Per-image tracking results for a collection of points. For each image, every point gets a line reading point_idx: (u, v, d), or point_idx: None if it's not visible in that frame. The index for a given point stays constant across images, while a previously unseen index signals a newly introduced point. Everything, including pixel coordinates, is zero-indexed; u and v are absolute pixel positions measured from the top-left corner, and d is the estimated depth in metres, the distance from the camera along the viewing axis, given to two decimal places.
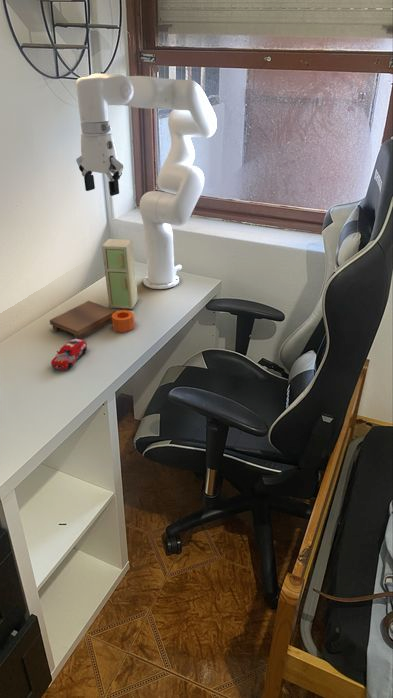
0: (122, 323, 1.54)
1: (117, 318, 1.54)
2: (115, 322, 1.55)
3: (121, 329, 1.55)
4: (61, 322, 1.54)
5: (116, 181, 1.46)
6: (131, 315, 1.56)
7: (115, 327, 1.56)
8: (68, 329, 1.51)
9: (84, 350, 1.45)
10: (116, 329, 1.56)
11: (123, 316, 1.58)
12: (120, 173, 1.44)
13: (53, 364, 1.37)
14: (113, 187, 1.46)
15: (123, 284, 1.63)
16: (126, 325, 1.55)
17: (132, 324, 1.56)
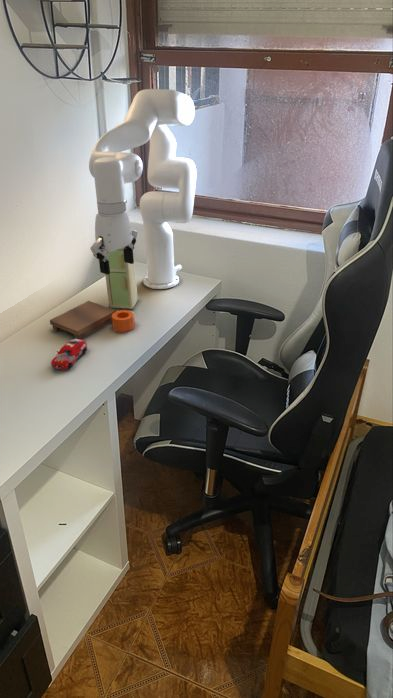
0: (122, 323, 1.54)
1: (117, 318, 1.54)
2: (115, 322, 1.55)
3: (121, 329, 1.55)
4: (61, 322, 1.54)
5: None
6: (131, 315, 1.56)
7: (115, 327, 1.56)
8: (68, 329, 1.51)
9: (84, 350, 1.45)
10: (116, 329, 1.56)
11: (123, 316, 1.58)
12: None
13: (53, 364, 1.37)
14: None
15: (123, 284, 1.63)
16: (126, 325, 1.55)
17: (132, 324, 1.56)
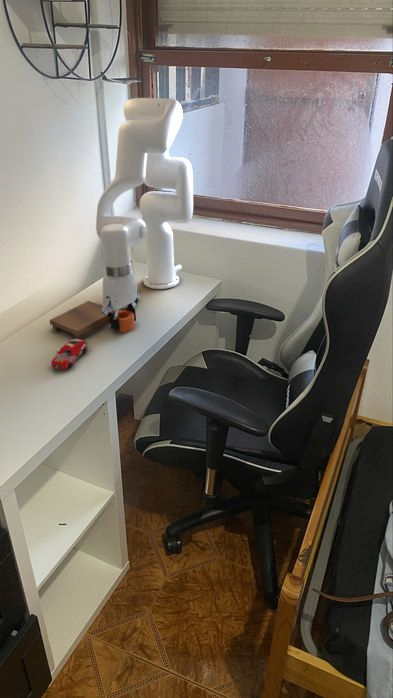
0: (122, 323, 1.54)
1: None
2: None
3: (121, 329, 1.55)
4: (61, 322, 1.54)
5: None
6: (131, 315, 1.56)
7: None
8: (68, 329, 1.51)
9: (84, 350, 1.45)
10: None
11: (123, 316, 1.58)
12: None
13: (53, 364, 1.37)
14: None
15: None
16: (126, 325, 1.55)
17: (132, 325, 1.56)
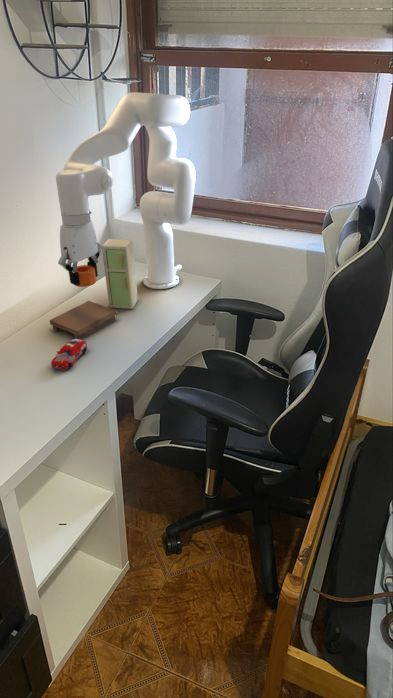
0: (82, 277, 1.47)
1: None
2: None
3: (81, 284, 1.48)
4: (61, 322, 1.54)
5: None
6: (92, 269, 1.49)
7: None
8: (68, 329, 1.51)
9: (84, 350, 1.45)
10: None
11: (84, 271, 1.51)
12: None
13: (53, 364, 1.37)
14: None
15: (123, 284, 1.63)
16: (86, 279, 1.48)
17: (93, 279, 1.49)
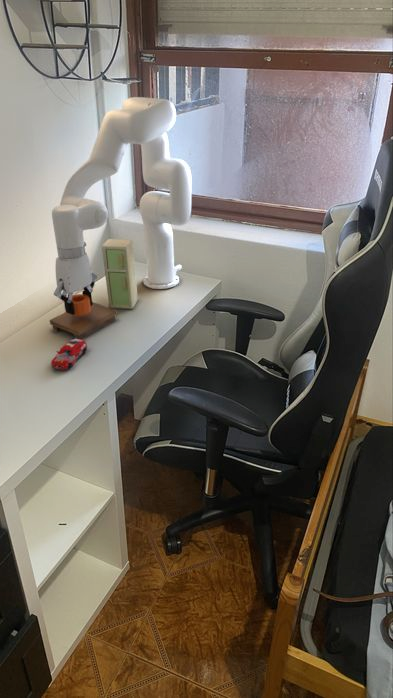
0: (77, 307, 1.52)
1: None
2: None
3: (76, 313, 1.53)
4: (61, 322, 1.54)
5: None
6: (86, 299, 1.54)
7: None
8: (68, 329, 1.51)
9: (84, 350, 1.45)
10: None
11: (79, 300, 1.56)
12: None
13: (53, 364, 1.37)
14: None
15: (123, 284, 1.63)
16: (81, 309, 1.52)
17: (88, 309, 1.54)
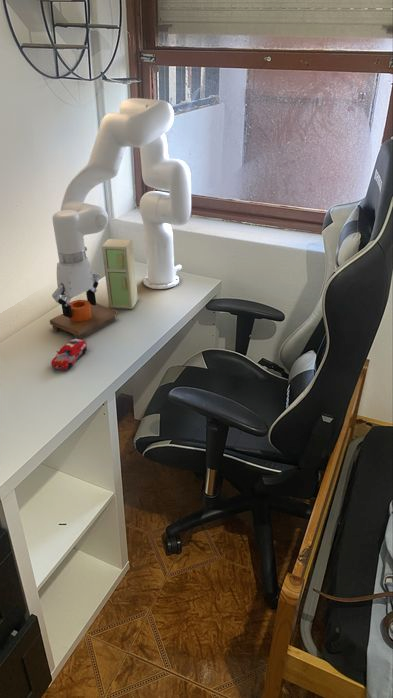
0: (78, 312, 1.53)
1: (73, 307, 1.53)
2: None
3: (77, 318, 1.54)
4: (61, 322, 1.54)
5: None
6: (87, 304, 1.54)
7: None
8: (68, 329, 1.51)
9: (84, 350, 1.45)
10: (72, 319, 1.54)
11: (80, 306, 1.57)
12: None
13: (53, 364, 1.37)
14: (94, 297, 1.58)
15: (123, 284, 1.63)
16: (82, 314, 1.53)
17: (88, 314, 1.55)
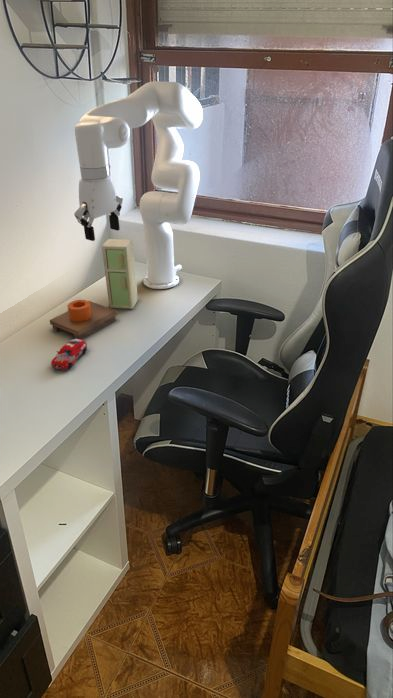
0: (78, 312, 1.53)
1: (73, 307, 1.53)
2: (71, 311, 1.53)
3: (77, 318, 1.54)
4: (61, 322, 1.54)
5: None
6: (87, 304, 1.54)
7: (71, 317, 1.54)
8: (68, 329, 1.51)
9: (84, 350, 1.45)
10: (72, 319, 1.54)
11: (80, 306, 1.57)
12: None
13: (53, 364, 1.37)
14: None
15: (123, 284, 1.63)
16: (82, 314, 1.53)
17: (88, 314, 1.55)
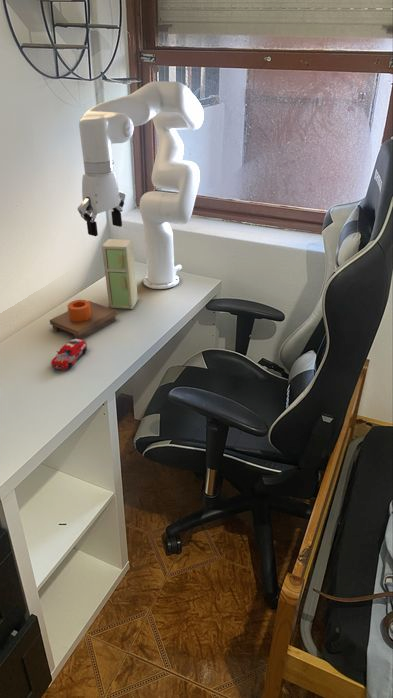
0: (78, 312, 1.53)
1: (73, 307, 1.53)
2: (71, 311, 1.53)
3: (77, 318, 1.54)
4: (61, 322, 1.54)
5: None
6: (87, 304, 1.54)
7: (71, 317, 1.54)
8: (68, 329, 1.51)
9: (84, 350, 1.45)
10: (72, 319, 1.54)
11: (80, 306, 1.57)
12: None
13: (53, 364, 1.37)
14: None
15: (123, 284, 1.63)
16: (82, 314, 1.53)
17: (88, 314, 1.55)
